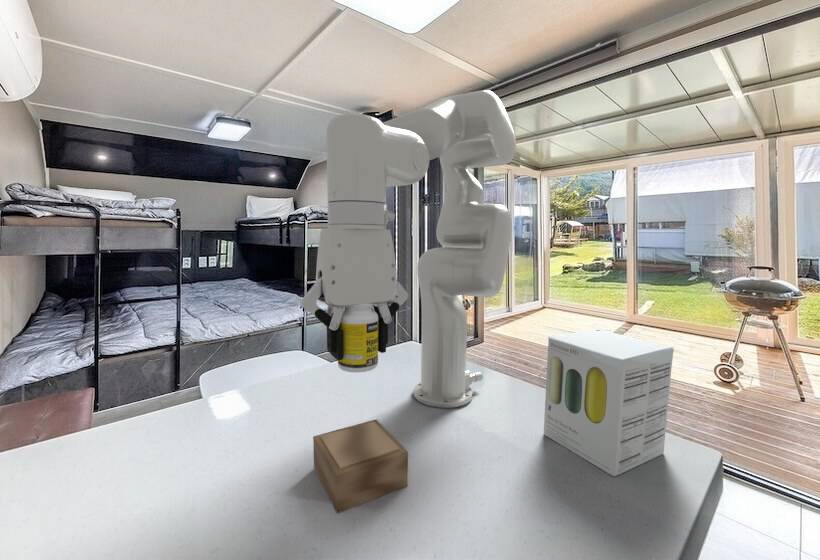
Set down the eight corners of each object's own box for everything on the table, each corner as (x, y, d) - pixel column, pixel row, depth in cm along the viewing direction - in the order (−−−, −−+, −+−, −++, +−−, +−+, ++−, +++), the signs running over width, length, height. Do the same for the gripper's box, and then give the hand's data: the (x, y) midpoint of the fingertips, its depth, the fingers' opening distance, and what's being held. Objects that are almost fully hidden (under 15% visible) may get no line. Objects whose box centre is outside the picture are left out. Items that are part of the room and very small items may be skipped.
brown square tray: (376, 449, 58) (376, 417, 58) (407, 485, 50) (407, 449, 49) (314, 468, 53) (313, 434, 52) (337, 513, 45) (336, 473, 44)
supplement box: (540, 434, 63) (545, 335, 61) (590, 417, 69) (596, 327, 67) (614, 479, 51) (623, 359, 49) (665, 454, 58) (676, 346, 56)
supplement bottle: (371, 375, 46) (371, 299, 45) (331, 371, 47) (330, 297, 46) (383, 361, 52) (382, 293, 51) (346, 358, 53) (346, 291, 52)
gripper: (400, 221, 55) (400, 338, 57) (282, 217, 46) (287, 355, 48) (428, 219, 48) (426, 351, 50) (297, 214, 40) (301, 374, 42)
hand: (358, 352), depth 49 cm, fingers closed on supplement bottle, 5 cm apart
